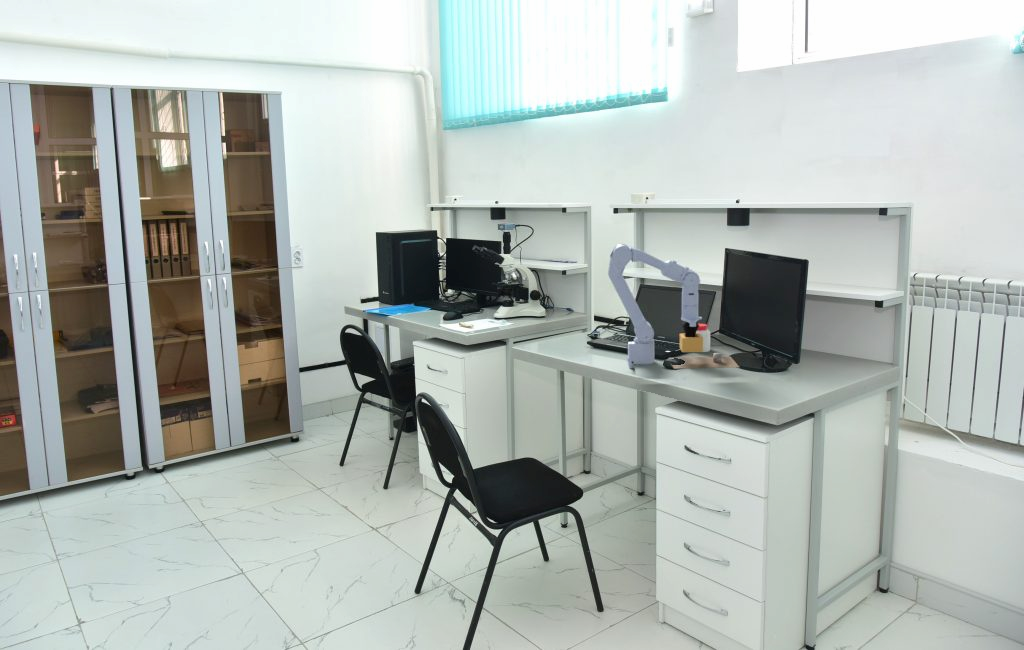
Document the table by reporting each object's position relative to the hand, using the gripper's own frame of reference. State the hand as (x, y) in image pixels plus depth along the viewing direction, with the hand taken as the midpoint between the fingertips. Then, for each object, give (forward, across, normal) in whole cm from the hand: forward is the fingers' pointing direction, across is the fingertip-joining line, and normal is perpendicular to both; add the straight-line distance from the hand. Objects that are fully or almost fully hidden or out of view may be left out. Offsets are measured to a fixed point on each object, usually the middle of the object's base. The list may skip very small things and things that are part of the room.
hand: (689, 343), depth 267 cm
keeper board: (+8, -3, -4) cm, 9 cm away
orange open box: (+2, -3, 0) cm, 3 cm away
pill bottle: (+8, +17, -6) cm, 20 cm away
